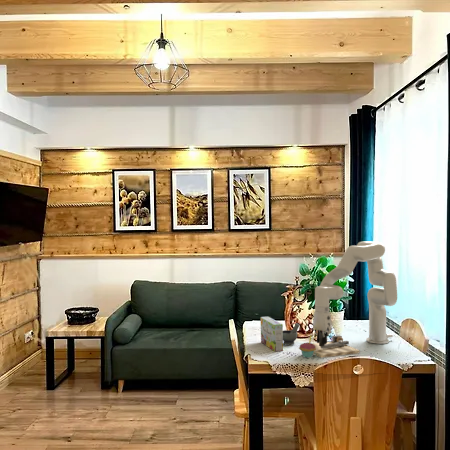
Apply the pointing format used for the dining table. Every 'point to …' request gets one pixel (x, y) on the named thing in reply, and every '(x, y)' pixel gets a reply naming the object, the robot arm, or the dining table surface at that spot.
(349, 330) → the dining table surface
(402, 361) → the dining table surface
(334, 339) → the anvil
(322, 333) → the lever
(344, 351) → the board
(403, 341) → the dining table surface
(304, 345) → the cupcake
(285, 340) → the mortar and pestle
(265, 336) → the snack box
